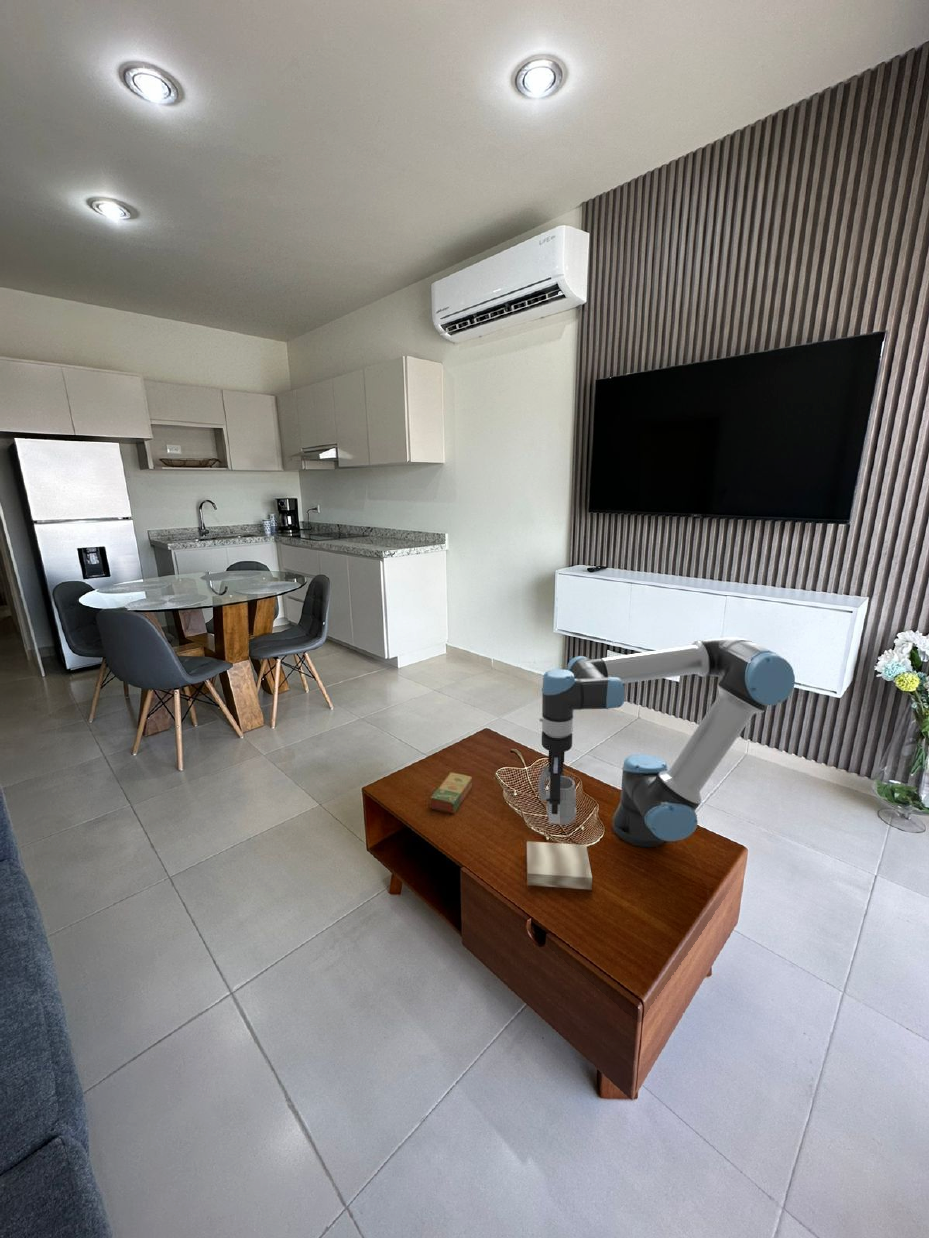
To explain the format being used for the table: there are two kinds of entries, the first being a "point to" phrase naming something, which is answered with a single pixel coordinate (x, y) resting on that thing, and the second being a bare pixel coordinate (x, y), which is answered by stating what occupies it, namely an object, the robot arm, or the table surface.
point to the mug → (566, 796)
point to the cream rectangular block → (558, 865)
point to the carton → (451, 792)
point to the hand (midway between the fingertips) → (555, 811)
